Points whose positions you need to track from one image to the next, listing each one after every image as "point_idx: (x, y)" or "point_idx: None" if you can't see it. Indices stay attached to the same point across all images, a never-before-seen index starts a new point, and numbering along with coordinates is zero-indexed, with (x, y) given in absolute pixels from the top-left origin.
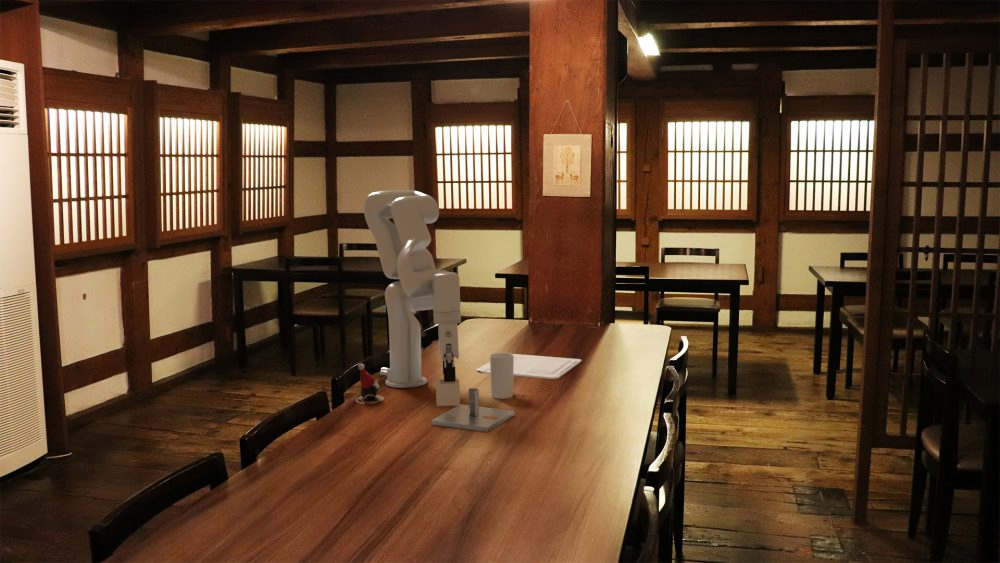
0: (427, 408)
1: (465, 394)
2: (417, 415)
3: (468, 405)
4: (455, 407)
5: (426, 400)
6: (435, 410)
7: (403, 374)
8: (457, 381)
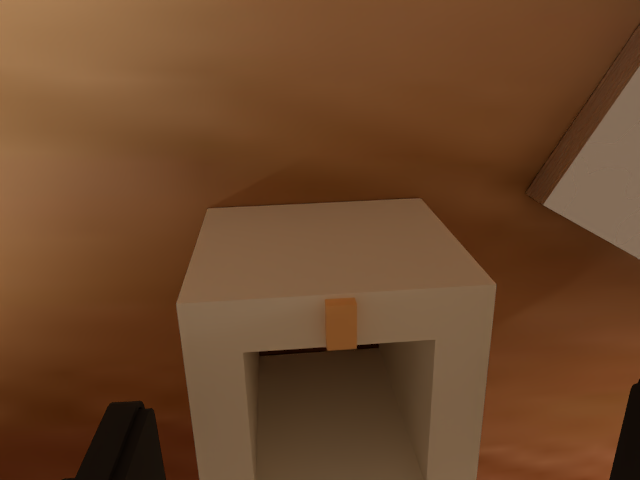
0: None
1: (12, 142)
2: None
3: (600, 127)
4: (628, 245)
5: None
6: (525, 376)
7: None
8: (353, 314)
